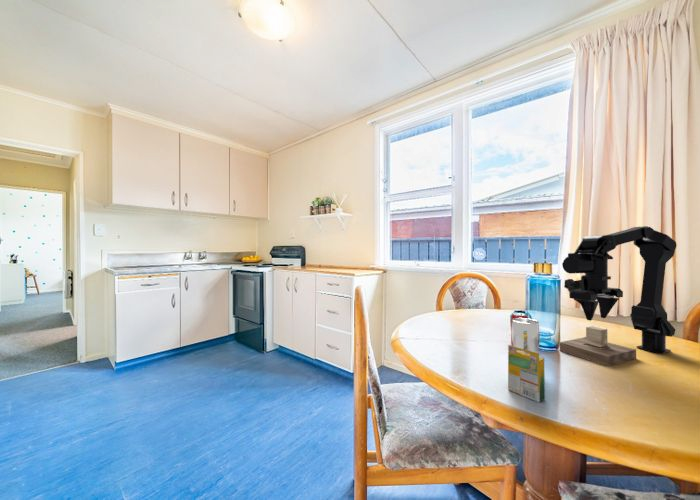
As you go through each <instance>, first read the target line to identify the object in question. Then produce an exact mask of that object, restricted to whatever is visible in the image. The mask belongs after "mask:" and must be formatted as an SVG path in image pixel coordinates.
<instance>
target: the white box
mask: <svg viewBox="0 0 700 500" xmlns="http://www.w3.org/2000/svg"><path fill="white" fill-rule="evenodd" d="M539 325H540V321H539V320H536V319H533V318H532V319H531V318H514V319H513V322H512V342H513V346H514V347H517V348H521V349H525V350H528V351H532V352H535V353H539V348H540V339H541V338H540V337H541V336H540V335H541V334H540V326H539ZM517 351H518V352H521V353H525V354H528V355H530V354H529V353H526V352H524V351H519V350H517Z"/></svg>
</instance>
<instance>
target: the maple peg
mask: <svg viewBox="0 0 700 500" xmlns="http://www.w3.org/2000/svg"><path fill="white" fill-rule="evenodd" d="M585 337H586V345H587V346H590V347H594V348H598V349H606V348H607V347H608V345H607V342H608V328H604V327H600V326H595V325H590V326H586V327H585Z"/></svg>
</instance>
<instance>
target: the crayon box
mask: <svg viewBox="0 0 700 500" xmlns="http://www.w3.org/2000/svg"><path fill="white" fill-rule="evenodd" d="M507 350H508V352H507V354H508V355H507V362H508V363H507V373H508V374H507V376H508V377H507V389H508V391H509V392H513V393H515V394H518V395H520V396H522V397H525V398H528V399H530V400H532V401H534V402H537V403H541V402H543V401H544V400H545V399H546V397H545V396H546V395H545V392H546V390H545V387H546V386H545V381H546V379H545V378H546V377H545V358H541V357H540V353H539V352H538V353H535V352H532V351H528V350H525V349H521V348H517V347H514V346H512V345H510V344H508V346H507ZM517 350H519V351H524V352H526V353H529V354H530V355H528V354H525V353H521V352H518V351H517Z"/></svg>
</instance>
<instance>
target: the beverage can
mask: <svg viewBox="0 0 700 500" xmlns="http://www.w3.org/2000/svg"><path fill="white" fill-rule="evenodd" d="M514 318H528V315H527V314H526V313H522V312H513V313H511V315H510V331H511V332H510V336H511V337H510V340H511V341H510V342H511V346H513V342H512V322H513V319H514ZM528 319H529V318H528Z"/></svg>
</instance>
